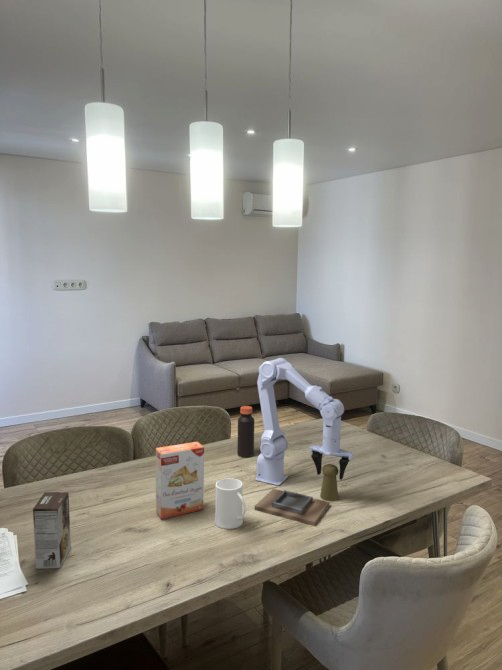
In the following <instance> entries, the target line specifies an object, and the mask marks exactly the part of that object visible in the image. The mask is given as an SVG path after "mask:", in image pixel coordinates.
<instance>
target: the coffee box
mask: <svg viewBox="0 0 502 670" xmlns="http://www.w3.org/2000/svg"><path fill="white" fill-rule="evenodd" d="M69 495H70V494H69V491H65V492H64V491H63V492H62V491H46V492H44V493H43V494H42V495H41V497H40V498H39V500H38V501H37V502H36V504H35V505H34V507H33V508H32V512H33V513H32V515H33V518H32V519H33V534H34V535H33V537H34V538H33V539H34V555H35V557H34V559H35V569H38V570H39V569H41V570H42V569H43V570H44V569H60V568H61V569H62V566H63V564H64V562H65V560H66V559H67V556H68V554H69V552H70V550H71V548H72V546H71V542H72V541H71V519H70V518H71V517H70V516H71V515H70V499H69Z"/></svg>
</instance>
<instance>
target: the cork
mask: <svg viewBox="0 0 502 670" xmlns="http://www.w3.org/2000/svg"><path fill="white" fill-rule="evenodd" d="M321 472H322V474H323V478H322V483H321V489H320V495H319V497H320V498H321V499H322V501H326V502H334V501H338V499H339V490H338V482H337V481H338V480H337V479H338V478H337V476H338V474H339V468H338V466H337V465H335V464H332V463H328V464H325V465H323V467H322V470H321Z"/></svg>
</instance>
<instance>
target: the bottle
mask: <svg viewBox="0 0 502 670" xmlns="http://www.w3.org/2000/svg"><path fill="white" fill-rule="evenodd" d="M239 409H240V410H239V412H240V413H239V414H240V416H239V417H238V419H237V456H239V457H240V456H241V457H240V458H251V457H253V456H254V455H255V418H254V417H253V416H252V415H253V407H252V406H250V405H242V406H241V407H240V408H239Z"/></svg>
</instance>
